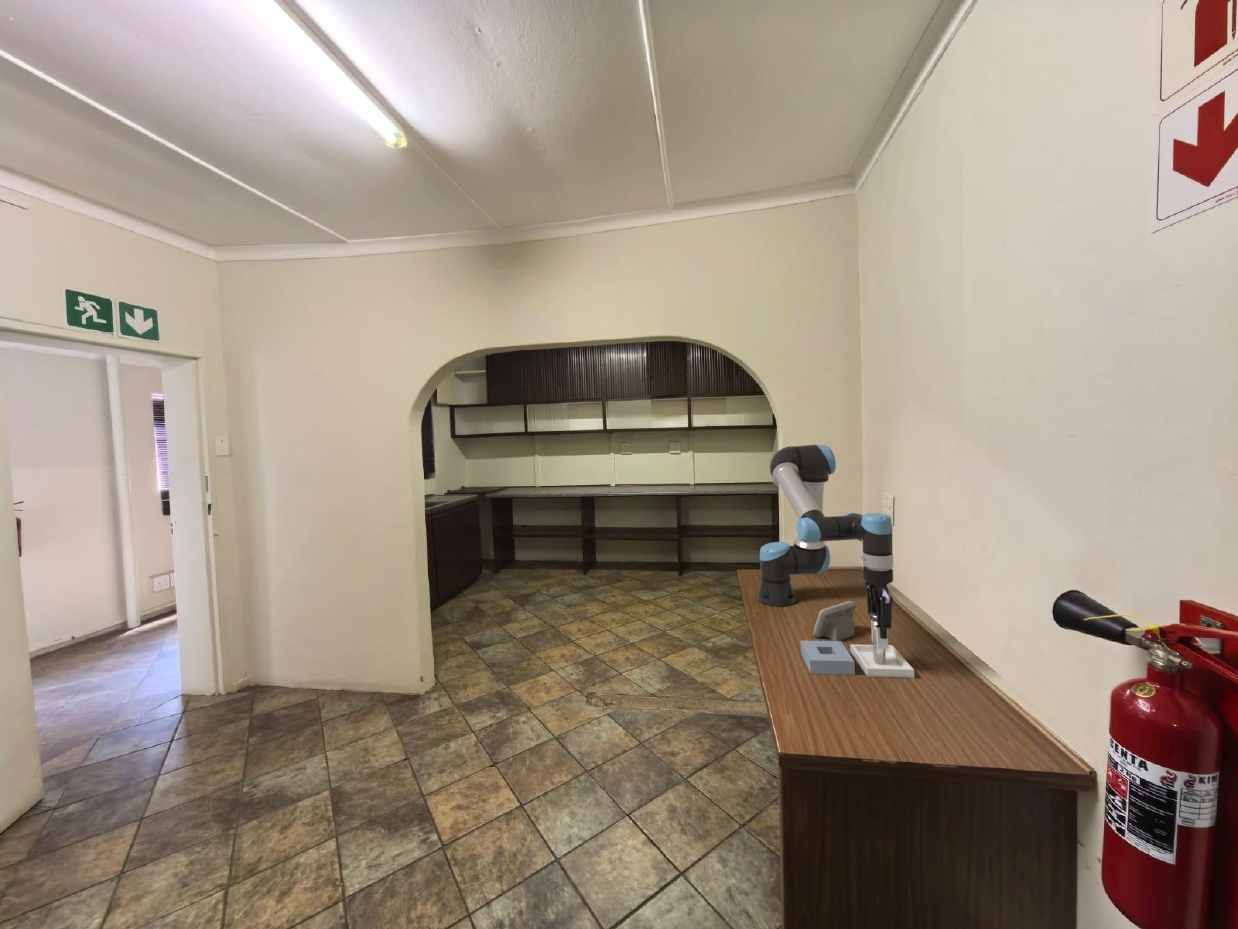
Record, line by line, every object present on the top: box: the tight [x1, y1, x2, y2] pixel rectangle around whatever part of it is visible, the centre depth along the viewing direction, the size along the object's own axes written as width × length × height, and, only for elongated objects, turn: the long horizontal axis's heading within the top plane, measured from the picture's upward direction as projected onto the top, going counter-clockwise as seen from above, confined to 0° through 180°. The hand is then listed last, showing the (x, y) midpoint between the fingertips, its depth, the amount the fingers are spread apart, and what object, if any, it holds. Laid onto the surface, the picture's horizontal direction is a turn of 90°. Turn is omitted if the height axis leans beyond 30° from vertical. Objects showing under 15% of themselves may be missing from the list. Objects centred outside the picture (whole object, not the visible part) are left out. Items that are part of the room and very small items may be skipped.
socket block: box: [800, 640, 856, 676], centre depth 132 cm, size 12×12×4 cm
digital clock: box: [812, 600, 857, 641], centre depth 149 cm, size 16×9×11 cm, turn 103°
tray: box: [849, 644, 915, 679], centre depth 130 cm, size 14×12×2 cm
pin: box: [869, 612, 886, 664], centre depth 129 cm, size 4×4×14 cm
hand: (879, 644), depth 129 cm, fingers closed on pin, 3 cm apart
